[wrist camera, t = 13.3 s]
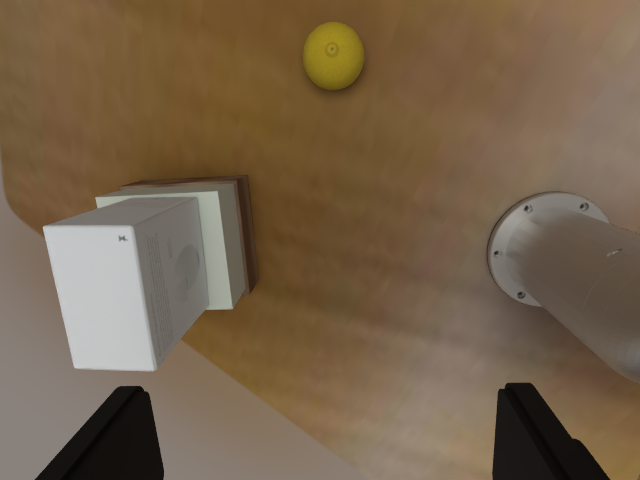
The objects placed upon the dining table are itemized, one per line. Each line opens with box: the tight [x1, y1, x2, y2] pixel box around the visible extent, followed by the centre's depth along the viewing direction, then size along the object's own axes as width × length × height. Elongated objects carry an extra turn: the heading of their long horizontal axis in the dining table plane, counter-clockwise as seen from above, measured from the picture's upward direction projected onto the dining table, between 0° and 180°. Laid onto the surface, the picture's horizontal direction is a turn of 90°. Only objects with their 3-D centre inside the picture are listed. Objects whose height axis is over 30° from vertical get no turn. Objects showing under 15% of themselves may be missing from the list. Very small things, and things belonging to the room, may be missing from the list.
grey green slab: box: [96, 184, 246, 310], centre depth 39 cm, size 11×11×5 cm
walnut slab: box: [119, 175, 259, 295], centre depth 44 cm, size 12×12×5 cm
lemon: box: [302, 22, 364, 90], centre depth 36 cm, size 6×6×8 cm
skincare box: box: [43, 197, 209, 371], centre depth 31 cm, size 10×6×10 cm, turn 2°
